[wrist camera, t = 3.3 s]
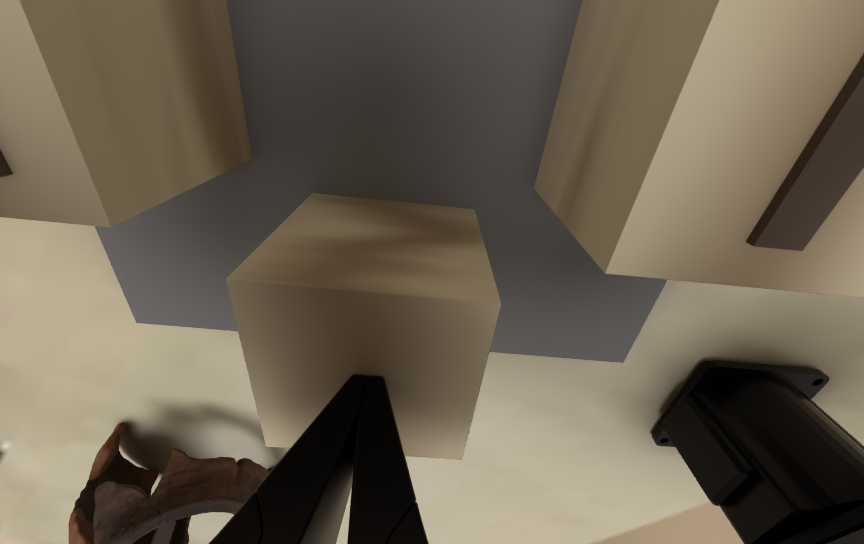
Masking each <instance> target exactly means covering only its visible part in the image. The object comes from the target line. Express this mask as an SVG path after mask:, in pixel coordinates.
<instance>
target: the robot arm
mask: <svg viewBox="0 0 864 544" xmlns="http://www.w3.org/2000/svg"><path fill="white" fill-rule="evenodd" d="M828 381H829V377H828V376H827V375H826V374H824V373H823V372H822V371H820V370H818V369H808V368H796V367H784V366H772V365H759V364H747V363H735V362H723V361H707V362H704V363H703V364H701V365H700V366H699V367H698V369H697V370H696V372H695V373H694V374H693V376H692V377H691V379H690V380H689V382H688V383H687V385H686V386H685V387H684V389H683V390H682V392H681V393H680V395H679V396H678V398H677V399H676V400H675V402H674V403H673V405H672V406H671V408H670V409H669V410H668V412H667V413H666V415H665V416H664V418H663V419H662V421H661V422H660V423H659V425H658V426H657V428H656V429H655V431H654V432H653V434H652V438H653V440H654V442H655V443H656V444H657V445H659V446H670V447H676V448H677V450H678V452H679V453H680V455H681V456H682V458H683V459H684V461H685V463H686V464H687V466H688V467H689V469H690V470H691V472H692V473H693V475H694V477H695V478H696V480H697V481H698V483H699V484H700V486H701V488H702V489H703V491H704V492H705V494H706V495H707V497H708V499H709V500H710V501H711V502H712V503H713V504H714V505H716V506H720V507H721V509H722V510H723V512H724V513H725V515H726V516H727V518H728V519H729V521H730V523H731V524H732V526H733V527H734V528H735V530H736V532H737V533H738V535H739V536H740V538H741V539H742V541H743V543H744V544H864V446H863V445H862V444H861V443H860V442H858V441H857V440H856V439H855V438H854V437H853V436H852V435H851V434H849V433H848V432H847V431H846V430H845V429H844V428H843V427H841V426H840V425H839V424H838V423H837V422H836V421H835V420H833V419H832V418H831V417H830V416H829V415H828V414H827V413H825V412H824V411H823V410H822V409H821V408H820V407H819V406H817V405H816V404H815V403H814V402H813V401H812V400H811V399H812V398H813V397H814V396H815V395H816V394H817V393H818V392H819V391H820V390H821V389H822V388H823V387H824V386H825V385H826V384H827V383H828ZM351 487H352V493H351V506H350V518H349V531H348V544H429V543H428V540H427V537H426V533H425V530H424V526H423V523H422V520H421V516H420V512H419V508H418V504H417V502H416V497H415V493H414V490H413V486H412V482H411V478H410V474H409V470H408V467H407V463H406V459H405V455H404V451H403V447H402V443H401V440H400V436H399V432H398V428H397V424H396V420H395V417H394V413H393V409H392V405H391V401H390V397H389V394H388V390H387V386H386V382H385V379H384V377H383V376H375V375H370V376H369V377H368V376H367V375H362V374H353V375H351V376H350V377H349V379H348V380H347V381H346V382H345V383H344V385H343V386H342V387H341V388H340V389H339V391H338V392H337V393H336V394H335V395H334V397H333V398H332V399H331V400H330V401H329V403H328V404H327V405H326V406H325V407H324V409H323V410H322V411H321V412H320V413H319V415H318V416H317V417H316V418H315V419H314V421H313V422H312V423H311V424H310V425H309V427H308V428H307V429H306V430H305V431H304V433H303V434H302V435H301V436H300V437H299V439H298V440H297V441H296V442H295V443H294V445H293V446H292V447H291V448H290V449H289V451H288V452H287V453H286V454H285V455H284V457H283V458H282V459H281V460H280V461H279V463H278V464H277V465H276V466H275V467H274V469H273V470H272V471H271V472H270V473H269V475H268V476H267V477H266V478H265V479H264V481H263V482H262V483H261V484H260V485H259V487H258V488H257V489H256V492H254V493H252V495H251V496H250V497H249V498H248V499H247V501H246V502H245V503H244V504H243V506H242V507H241V508H240V509H239V510H238V511H237V513H236V514H235V515H234V516H233V517H232V518H231V519H230V521H229V522H228V523H227V524H226V525H225V526H224V527H223V529H222V530H221V531H220V532H219V533H218V534H217V535H216V536H215V538H214V539H213V540H212V541H211V542H210V543H209V544H336V541H337V537H338V534H339V530H340V526H341V523H342V519H343V515H344V512H345V508H346V505H347V501H348V497H349V494H350V490H351Z"/></svg>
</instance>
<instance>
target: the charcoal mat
mask: <svg viewBox="0 0 864 544" xmlns="http://www.w3.org/2000/svg"><path fill="white" fill-rule="evenodd" d="M226 1H227V7H228V13H229V20H230V26H231V32H232V38H233V44H234V51H235V57H236V63H237V69H238V75H239V81H240V88H241V94H242V100H243V106H244V112H245V119H246V125H247V131H248V137H249V143H250V149H251V156H252V159H251V160H249V161H247V162H245V163H243V164H241V165H239V166H237V167H235V168H233V169H231V170H229V171H227V172H225V173H223V174H220V175H218V176H216V177H214V178H212V179H210V180H208V181H206V182H204V183H202V184H200V185H198V186H196V187H194V188H192V189H189V190H187V191H185V192H183V193H181V194H179V195H177V196H175V197H173V198H171V199H169V200H167V201H165V202H163V203H161V204H159V205H156V206H154V207H152V208H150V209H148V210H146V211H144V212H142V213H140V214H138V215H136V216H134V217H132V218H130V219H128V220H125V221H123V222H121V223H119V224H117V225H115V226H113V227H103V226H95V228H96V230H97V232H98V235H99V237H100V239H101V242H102V244H103V246H104V248H105V251H106V253H107V255H108V258H109V260H110V262H111V265H112V267H113V269H114V272H115V274H116V276H117V279H118V281H119V283H120V286H121V288H122V290H123V293H124V295H125V297H126V299H127V302H128V304H129V306H130V309H131V311H132V313H133V316H134V318H135V320H136V323H145V324H157V325H170V326H182V327H194V328H206V329H218V330H231V331H238V329H237V324H236V320H235V316H234V312H233V308H232V304H231V300H230V296H229V291H228V287H227V283H226V278H227V277H228V276H229V275H230V274H231V273H232V272H233V271H234V270H235V269H236V268H237V267H238V266H239V265H240V264H241V263H242V262H243V261H244V260H245V259H246V258H247V257H248V256H249V255H250V254H251V253H252V252H253V251H254V250H255V249H257V248H258V247H259V246H260V245H261V244H262V243H263V242H264V241H265V240H266V239H267V238H268V237H269V236H270V235H271V234H272V233H273V232H274V231H275V230H276V229H277V228H278V227H279V226H280V225H281V224H282V223H283V222H284V221H285V220H286V219H287V218H288V217H289V216H290V215H291V214H292V213H293V212H294V211H295V210H296V209H297V208H298V207H299V206H300V205H301V204H302V203H303V202H304V201H305V200H306V199H307V198H308V197H309V196H310V195H311V194H312V193H318V194H328V195H338V196H347V197H357V198H367V199H377V200H387V201H397V202H407V203H417V204H427V205H437V206H447V207H457V208H467V209H475V213H476V216H477V220H478V223H479V227H480V230H481V234H482V237H483V241H484V244H485V248H486V251H487V255H488V258H489V262H490V265H491V269H492V273H493V276H494V280H495V283H496V287H497V290H498V294H499V297H500V301H501V307H500V311H499V315H498V319H497V323H496V327H495V331H494V335H493V339H492V343H491V347H490V351H489V352H500V353H512V354H524V355H536V356H548V357H561V358H573V359H585V360H597V361H609V362H622V363H623V362H624V360H625V358H626V356H627V354H628V353H629V351H630V349H631V347H632V345H633V343H634V341H635V339H636V338H637V336H638V334H639V332H640V330H641V328H642V326H643V324H644V323H645V321H646V319H647V317H648V315H649V313H650V311H651V309H652V308H653V306H654V304H655V302H656V300H657V298H658V296H659V294H660V292H661V291H662V289H663V287H664V285H665V283H666V281H667V279H658V278H648V277H637V276H626V275H616V274H605V273H604V272H603V271H602V269H601V268H600V267H599V266H598V265H597V263H596V262H595V261H594V260H593V259H592V257H591V256H590V255H589V254H588V253H587V251H586V250H585V249H584V248H583V247H582V245H581V244H580V243H579V242H578V241H577V239H576V238H575V237H574V236H573V235H572V233H571V232H570V231H569V230H568V229H567V228H566V226H565V225H564V224H563V223H562V222H561V220H560V219H559V218H558V217H557V216H556V214H555V213H554V212H553V211H552V210H551V208H550V207H549V206H548V205H547V204H546V202H545V201H544V200H543V199H542V198H541V196H540V195H539V194H538V193H537V192H536V190H535V189H534V186H535V182H536V178H537V174H538V170H539V167H540V163H541V159H542V155H543V151H544V147H545V143H546V139H547V136H548V132H549V128H550V124H551V120H552V116H553V112H554V108H555V104H556V101H557V97H558V93H559V89H560V85H561V81H562V77H563V73H564V69H565V66H566V62H567V58H568V54H569V50H570V46H571V42H572V38H573V34H574V31H575V27H576V23H577V19H578V15H579V11H580V7H581V3H582V0H226Z"/></svg>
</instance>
